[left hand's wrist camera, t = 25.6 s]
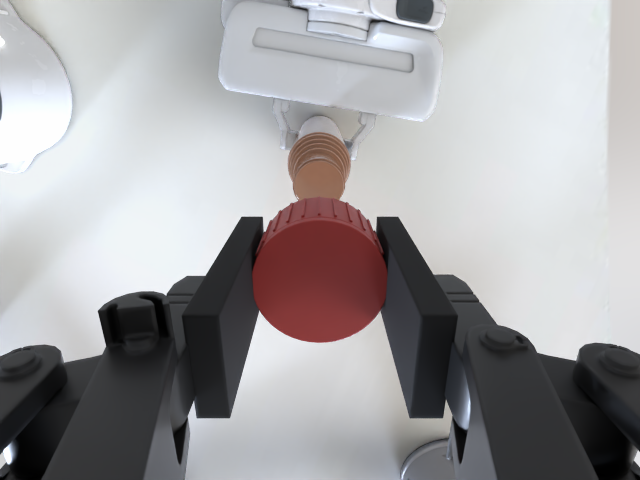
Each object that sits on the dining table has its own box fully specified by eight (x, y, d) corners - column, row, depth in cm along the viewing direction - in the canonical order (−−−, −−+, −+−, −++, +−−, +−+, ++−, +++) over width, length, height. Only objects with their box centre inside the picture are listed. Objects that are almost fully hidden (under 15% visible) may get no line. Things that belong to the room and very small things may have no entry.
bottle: (294, 121, 44) (268, 157, 22) (334, 110, 44) (349, 135, 22) (305, 162, 46) (291, 231, 24) (344, 151, 45) (366, 213, 23)
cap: (255, 294, 15) (242, 334, 13) (268, 185, 13) (257, 207, 11) (364, 310, 15) (373, 352, 13) (390, 205, 14) (405, 231, 11)
